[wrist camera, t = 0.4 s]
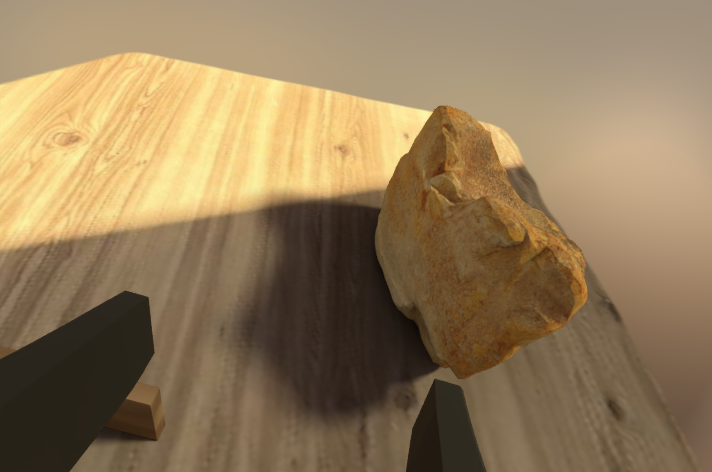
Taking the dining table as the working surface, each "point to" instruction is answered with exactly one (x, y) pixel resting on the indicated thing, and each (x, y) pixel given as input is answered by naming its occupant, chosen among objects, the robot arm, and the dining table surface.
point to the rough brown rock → (472, 250)
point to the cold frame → (133, 410)
